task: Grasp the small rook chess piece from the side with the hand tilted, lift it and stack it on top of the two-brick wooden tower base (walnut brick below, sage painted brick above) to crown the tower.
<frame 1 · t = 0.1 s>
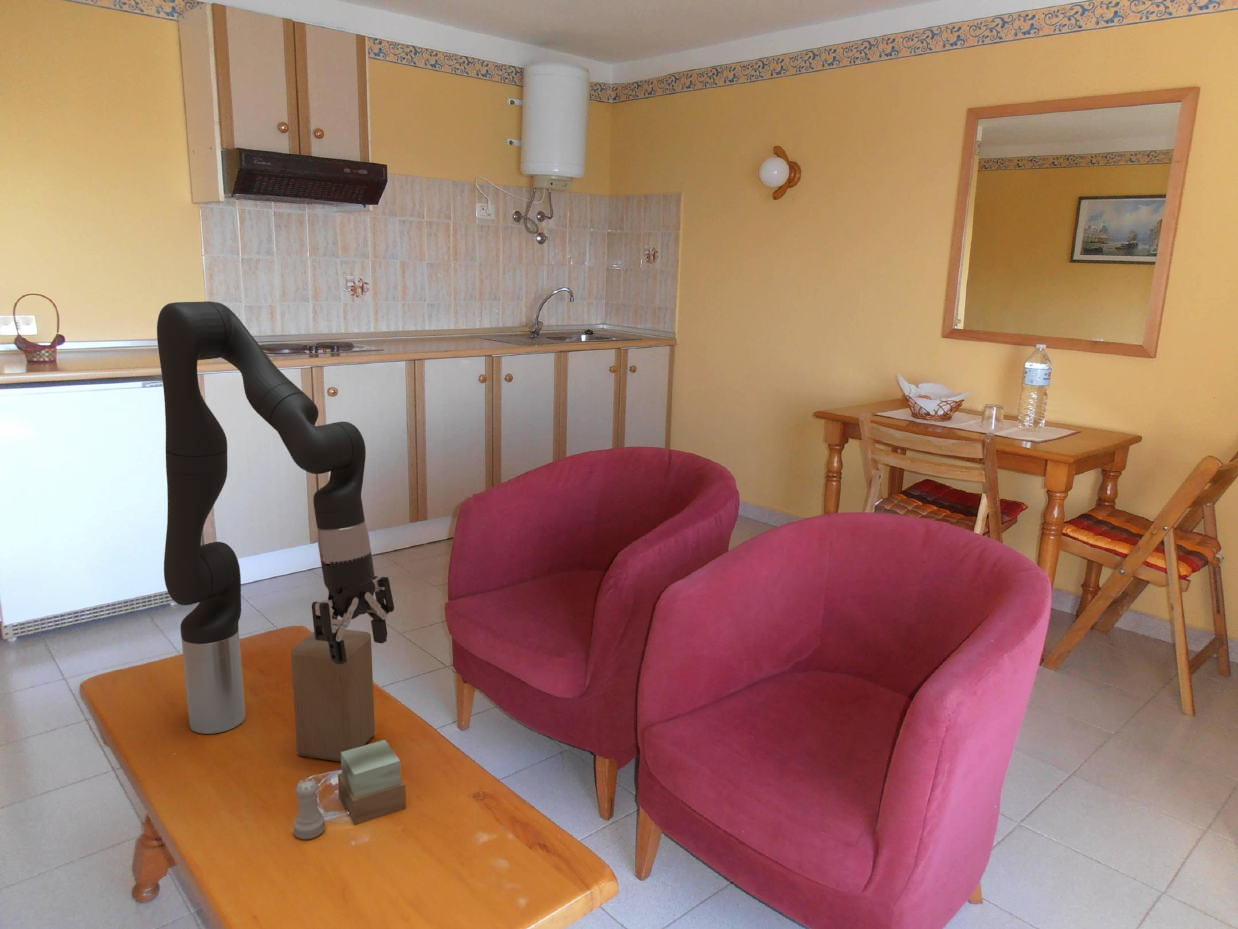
hand: (360, 652, 135), 22 cm above the table, tool pointing down, fingers open, 8 cm apart
rook chess piece: (309, 832, 127), on the table
tower base: (372, 802, 134), on the table
block: (337, 746, 150), on the table
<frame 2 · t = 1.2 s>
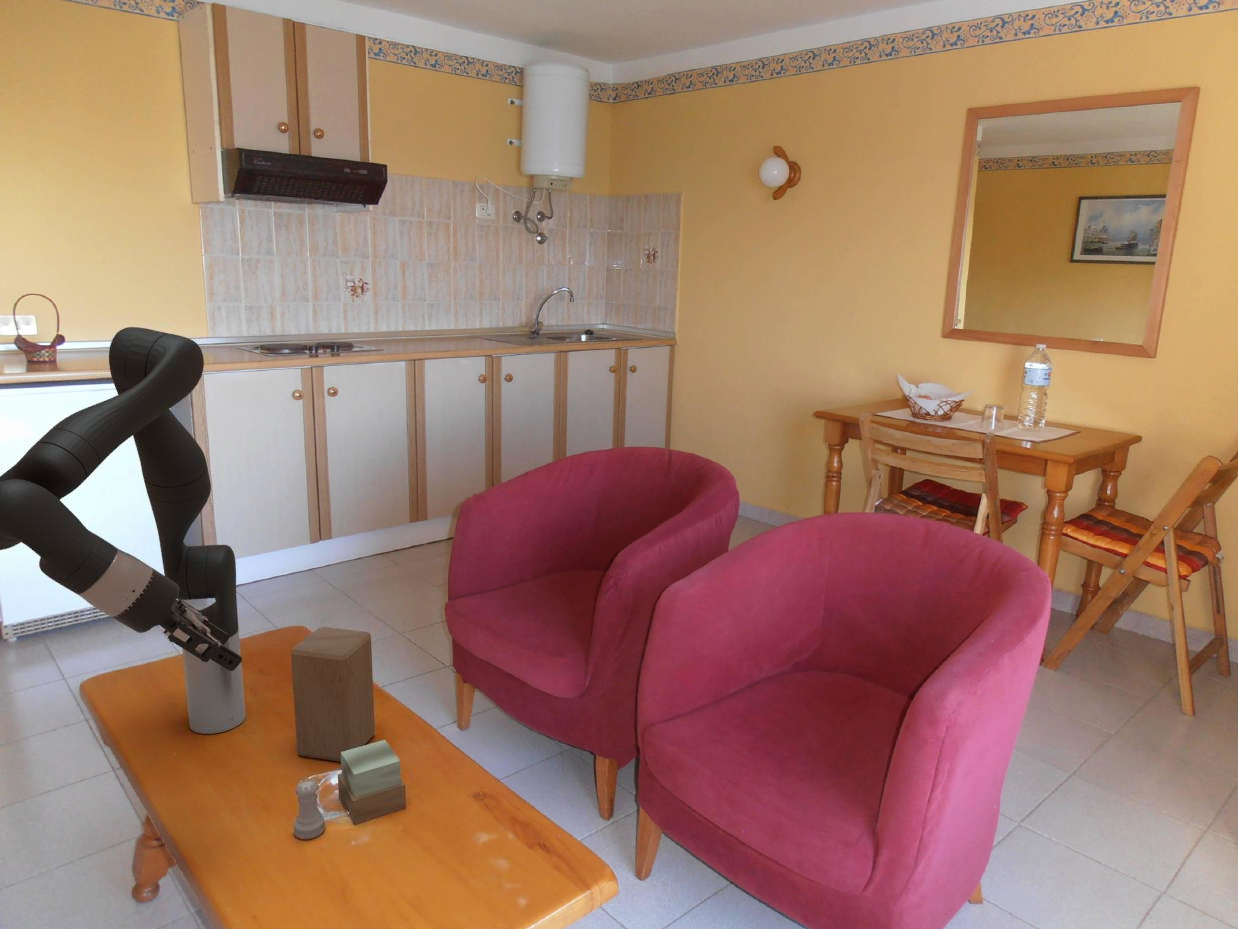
hand: (231, 653, 119), 29 cm above the table, tool tilted 45°, fingers open, 8 cm apart
nothing on the table moved.
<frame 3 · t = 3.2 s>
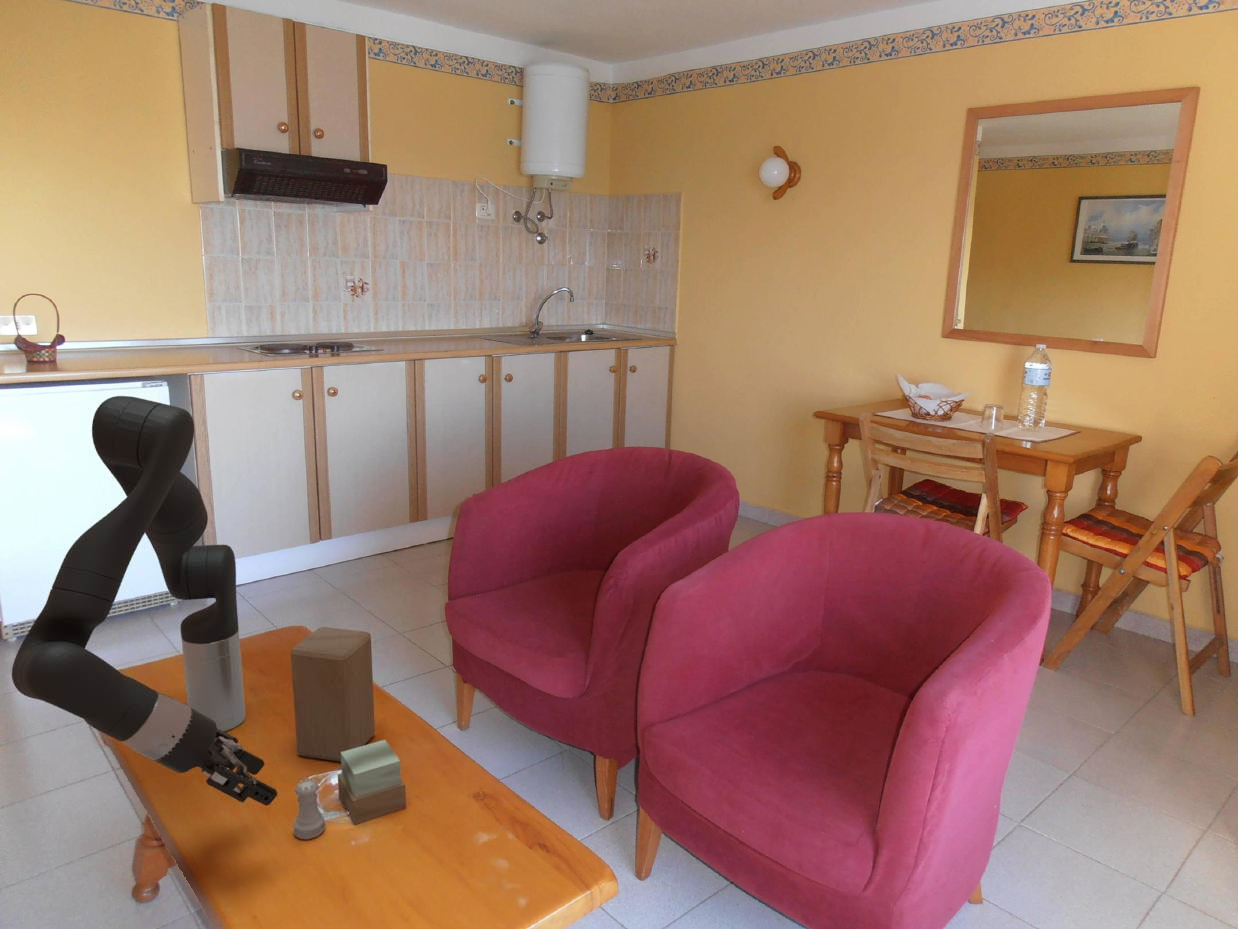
hand: (266, 783, 122), 10 cm above the table, tool tilted 45°, fingers open, 8 cm apart
nothing on the table moved.
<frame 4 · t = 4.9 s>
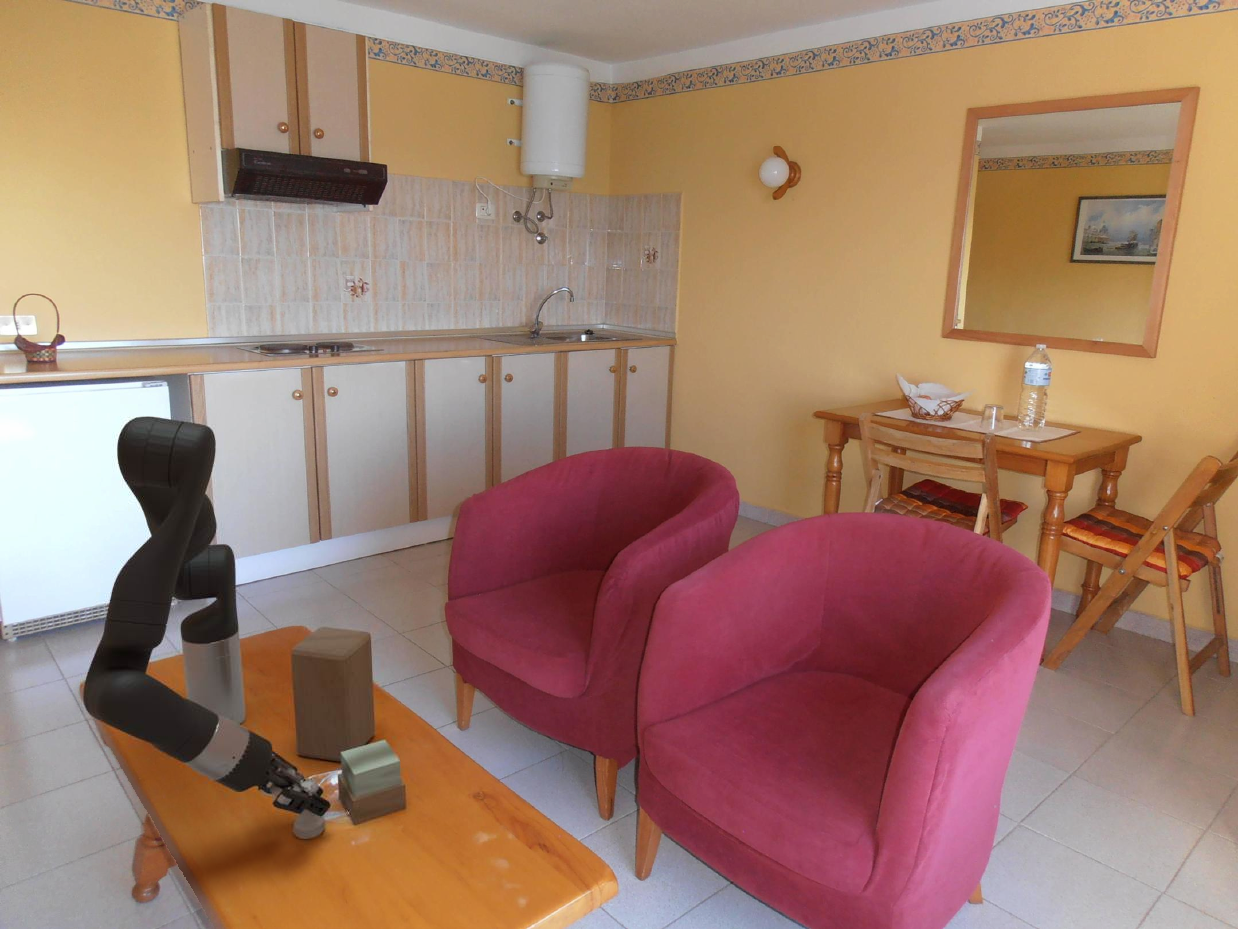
hand: (322, 802, 127), 4 cm above the table, tool tilted 45°, fingers closed on rook chess piece, 3 cm apart
rook chess piece: (309, 832, 127), on the table, touching gripper
everything else where it was.
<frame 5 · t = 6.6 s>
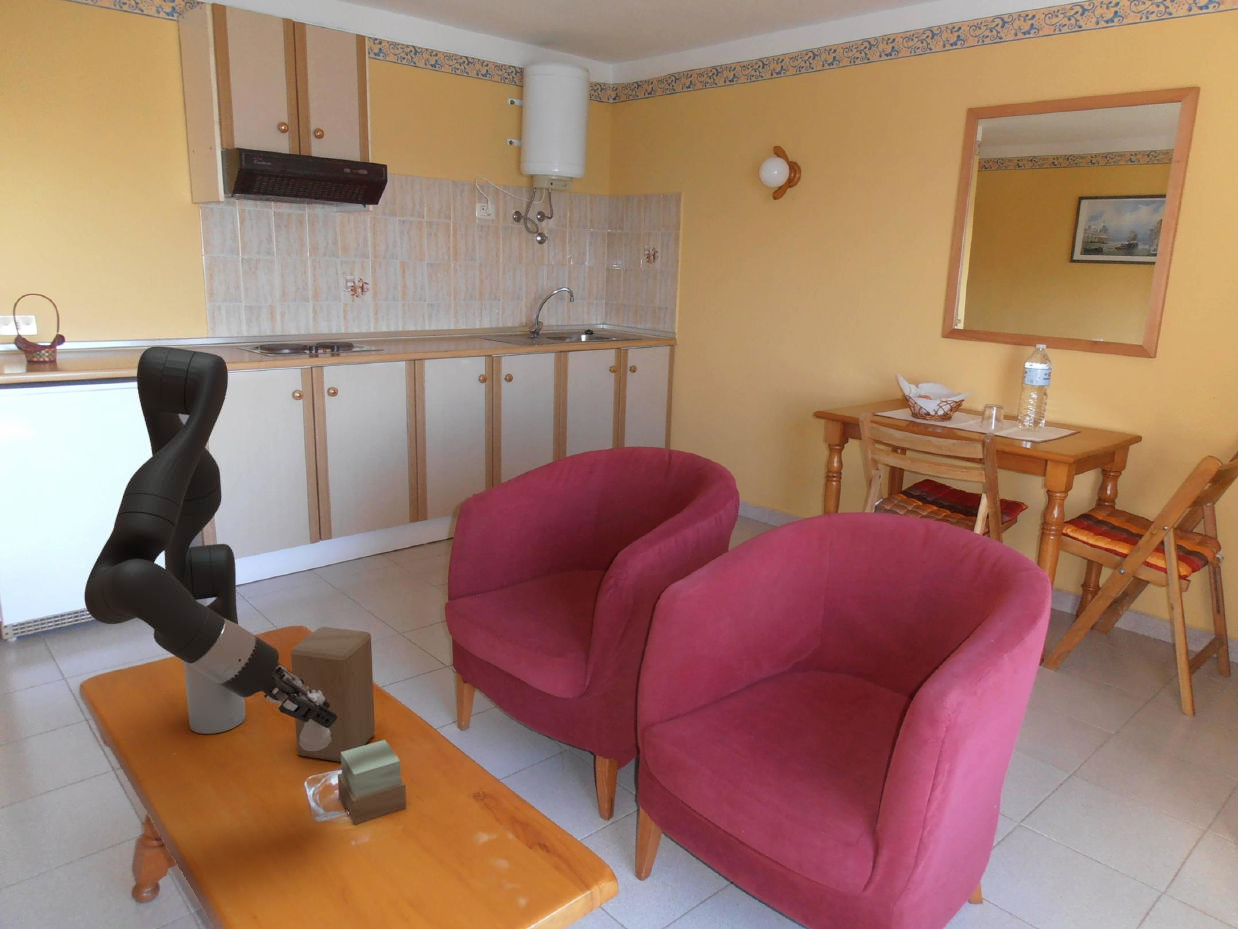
hand: (328, 715, 126), 17 cm above the table, tool tilted 45°, fingers closed on rook chess piece, 3 cm apart
rook chess piece: (315, 745, 125), point 13 cm above the table, touching gripper
everything else where it was.
when the fingers open (13 cm above the table, at t = 8.4 s): rook chess piece drops 1 cm, resting on tower base.
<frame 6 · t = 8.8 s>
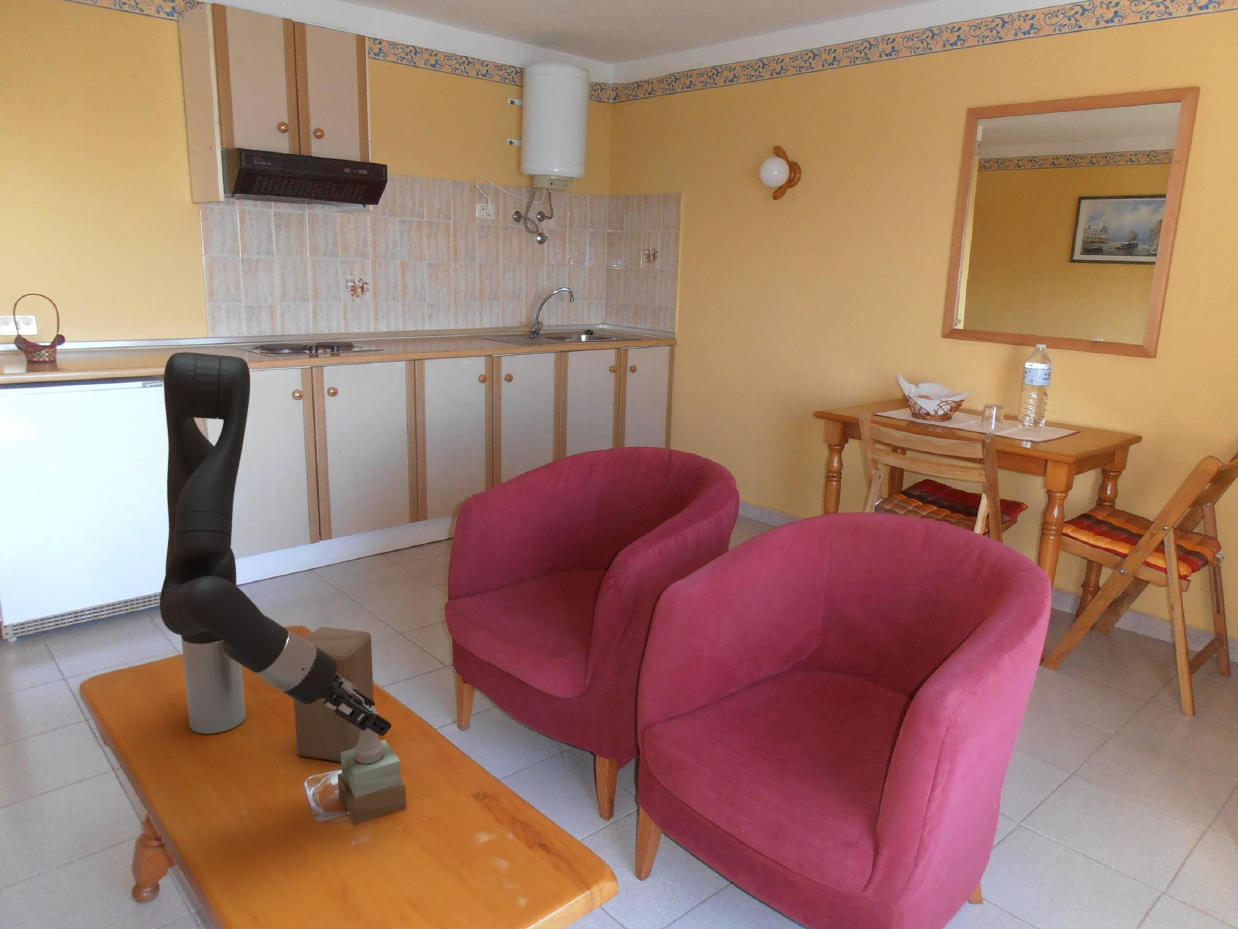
hand: (378, 718, 132), 14 cm above the table, tool tilted 45°, fingers open, 7 cm apart
rook chess piece: (369, 758, 132), point 8 cm above the table, touching tower base
everything else where it was.
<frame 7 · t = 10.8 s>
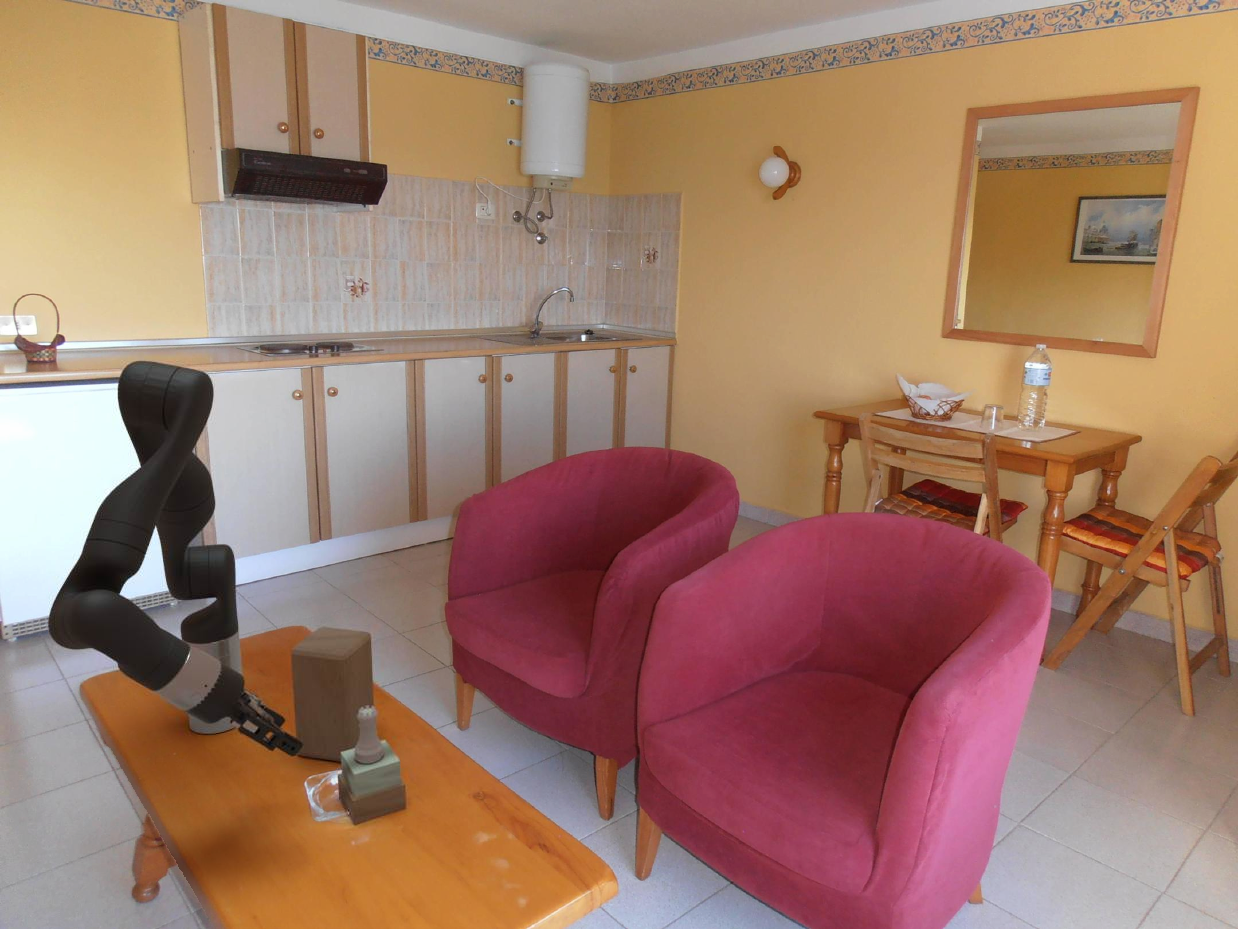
hand: (289, 737, 125), 15 cm above the table, tool tilted 45°, fingers open, 8 cm apart
nothing on the table moved.
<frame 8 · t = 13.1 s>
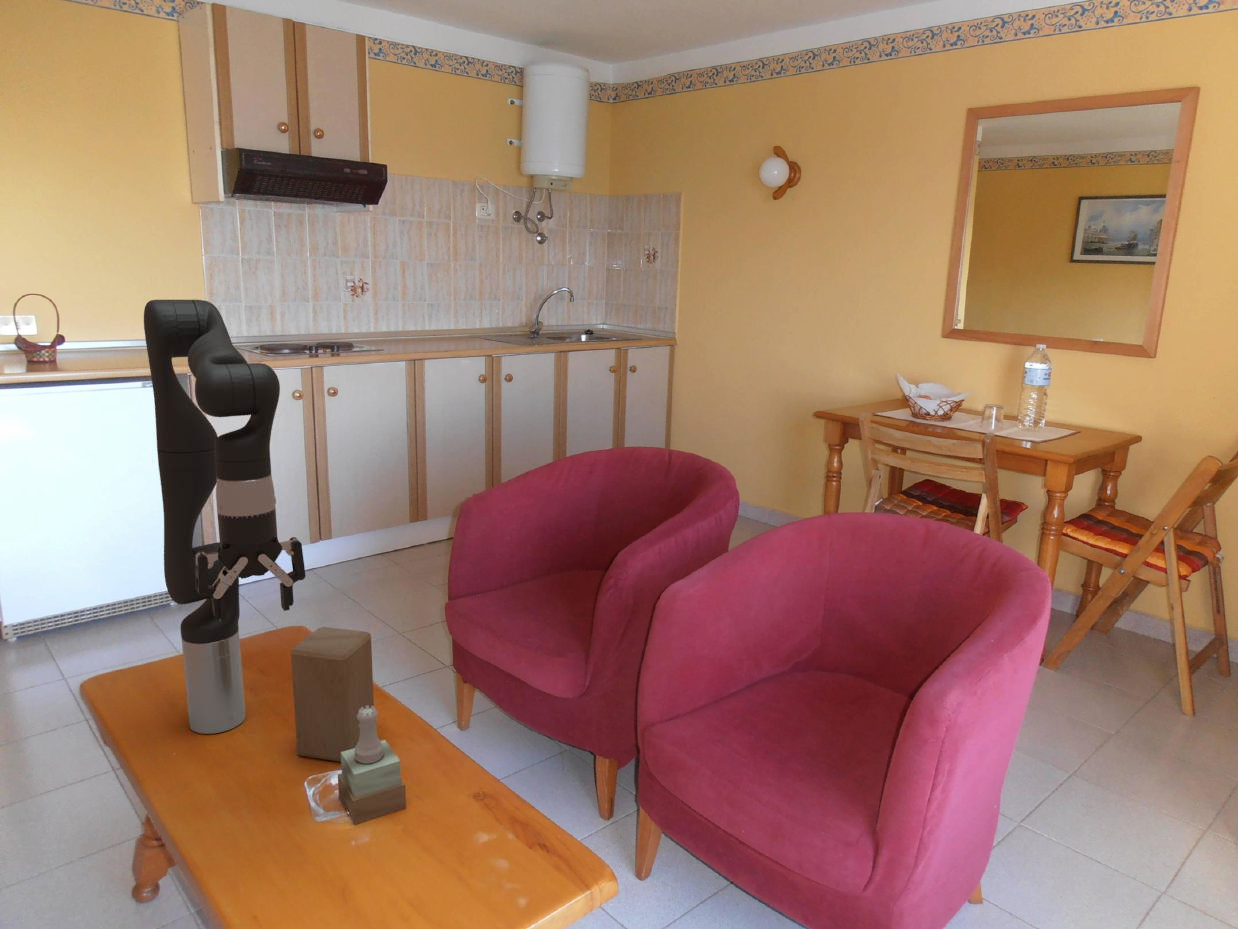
hand: (254, 614, 124), 32 cm above the table, tool pointing down, fingers open, 8 cm apart
nothing on the table moved.
at the end: rook chess piece inside the target area on the tower base (0.2 cm from its centre), point 7.8 cm above the tower base's base; rook chess piece tilted 0°; the gripper is holding nothing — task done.
